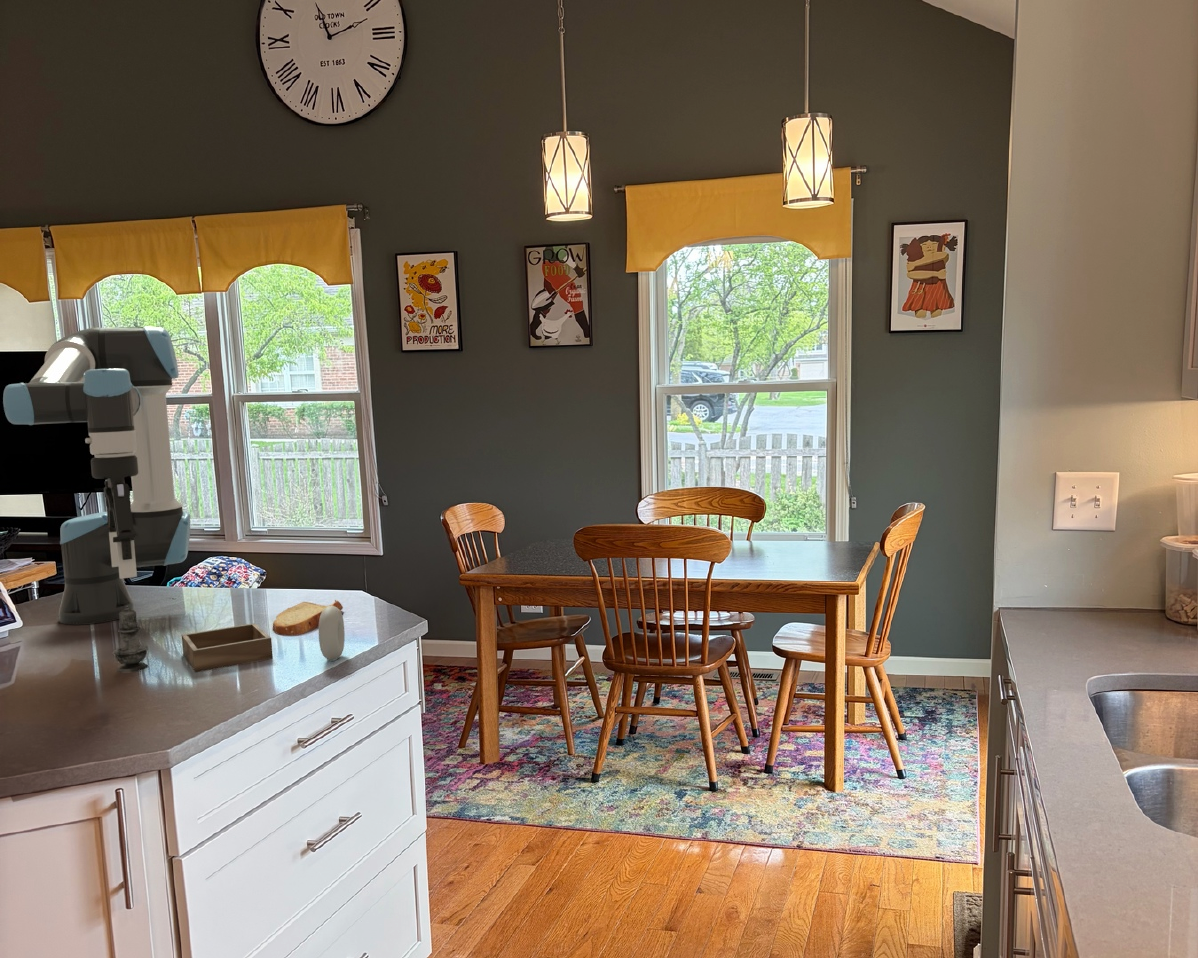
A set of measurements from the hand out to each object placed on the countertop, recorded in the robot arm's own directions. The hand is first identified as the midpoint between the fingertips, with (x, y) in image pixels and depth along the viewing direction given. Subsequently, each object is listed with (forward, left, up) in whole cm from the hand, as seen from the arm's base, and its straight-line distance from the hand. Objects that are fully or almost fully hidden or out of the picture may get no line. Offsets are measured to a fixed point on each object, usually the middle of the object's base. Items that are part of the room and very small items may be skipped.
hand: (124, 571), depth 176 cm
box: (+3, +16, -18) cm, 24 cm away
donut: (+18, +32, -18) cm, 41 cm away
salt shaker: (0, 0, -18) cm, 18 cm away
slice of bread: (-14, +36, -19) cm, 43 cm away
